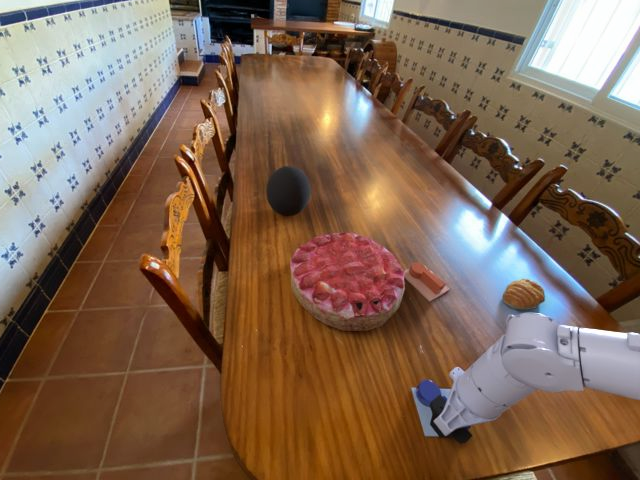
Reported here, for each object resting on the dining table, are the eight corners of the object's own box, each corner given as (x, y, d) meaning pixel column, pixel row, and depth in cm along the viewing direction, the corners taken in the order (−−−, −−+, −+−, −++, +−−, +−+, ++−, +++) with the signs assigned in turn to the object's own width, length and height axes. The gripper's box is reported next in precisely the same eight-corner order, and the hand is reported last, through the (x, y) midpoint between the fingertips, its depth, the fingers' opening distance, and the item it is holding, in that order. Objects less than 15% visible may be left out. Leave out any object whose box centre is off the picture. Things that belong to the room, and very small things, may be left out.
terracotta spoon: (443, 290, 69) (448, 282, 67) (433, 296, 67) (438, 288, 65) (415, 265, 74) (419, 257, 72) (405, 270, 73) (409, 262, 71)
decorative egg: (308, 202, 92) (315, 160, 83) (305, 229, 83) (312, 184, 73) (269, 197, 93) (271, 154, 83) (262, 223, 83) (263, 177, 74)
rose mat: (449, 290, 69) (449, 289, 69) (429, 302, 67) (430, 301, 66) (419, 264, 75) (419, 263, 75) (399, 273, 72) (400, 272, 72)
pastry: (521, 319, 65) (531, 309, 62) (492, 296, 69) (501, 285, 67) (543, 302, 69) (553, 292, 66) (514, 281, 73) (523, 271, 71)
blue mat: (449, 389, 52) (450, 388, 52) (468, 437, 47) (469, 437, 47) (411, 388, 52) (411, 387, 52) (424, 436, 47) (425, 435, 46)
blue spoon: (466, 429, 48) (475, 423, 46) (452, 442, 46) (460, 437, 44) (424, 380, 53) (431, 373, 51) (410, 390, 51) (416, 383, 50)
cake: (423, 323, 61) (435, 298, 56) (306, 345, 57) (308, 321, 52) (372, 243, 80) (378, 220, 76) (282, 256, 76) (282, 232, 71)
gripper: (496, 332, 44) (457, 371, 53) (432, 381, 38) (400, 416, 47) (546, 376, 40) (494, 411, 48) (483, 439, 34) (436, 466, 42)
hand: (450, 416), depth 47 cm, fingers open, 6 cm apart
